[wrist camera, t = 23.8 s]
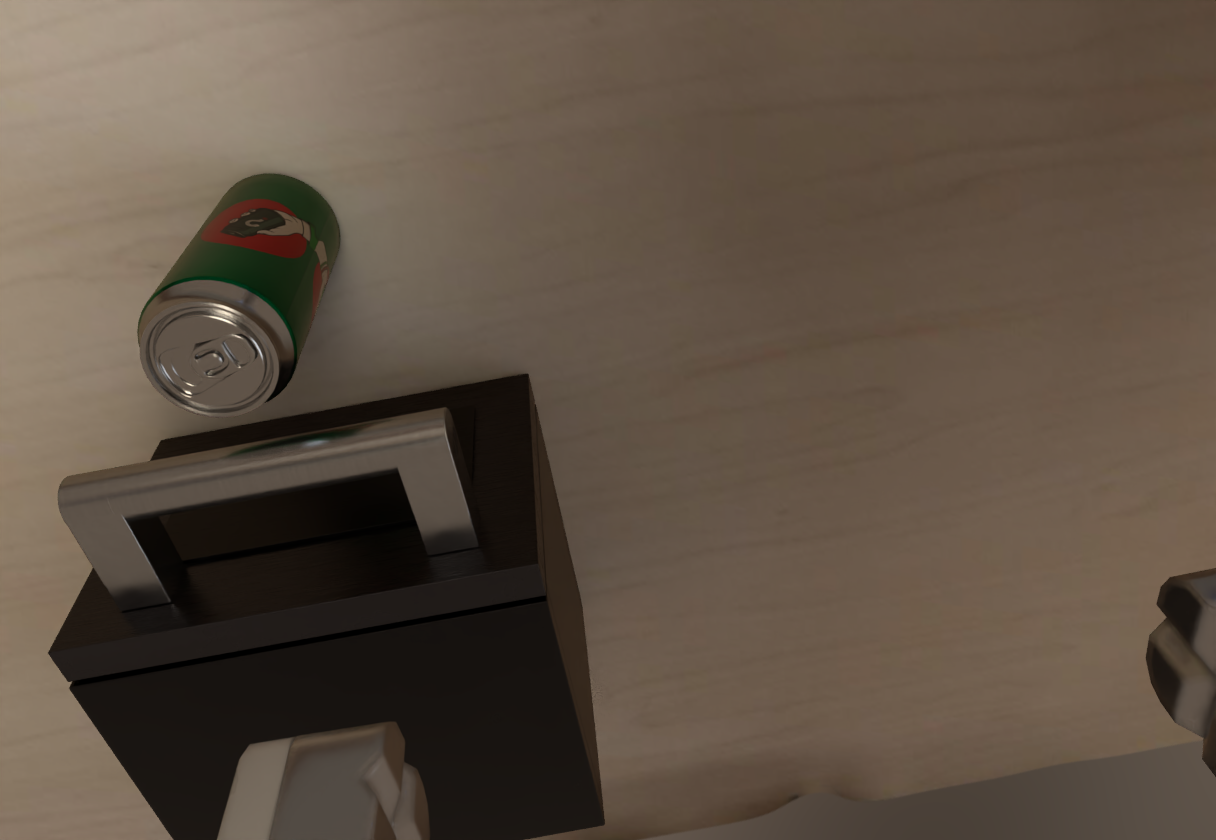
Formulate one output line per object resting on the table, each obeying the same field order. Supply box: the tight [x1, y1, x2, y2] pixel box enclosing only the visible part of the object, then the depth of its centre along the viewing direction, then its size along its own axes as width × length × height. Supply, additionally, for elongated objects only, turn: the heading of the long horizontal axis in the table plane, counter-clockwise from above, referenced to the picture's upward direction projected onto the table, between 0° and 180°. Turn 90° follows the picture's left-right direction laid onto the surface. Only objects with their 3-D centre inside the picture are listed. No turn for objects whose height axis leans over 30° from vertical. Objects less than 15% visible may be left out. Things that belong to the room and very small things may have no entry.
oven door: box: [48, 374, 546, 682], centre depth 39 cm, size 7×18×14 cm, turn 99°
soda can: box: [137, 174, 340, 418], centre depth 36 cm, size 5×5×12 cm
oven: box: [70, 405, 605, 840], centre depth 45 cm, size 14×18×14 cm
